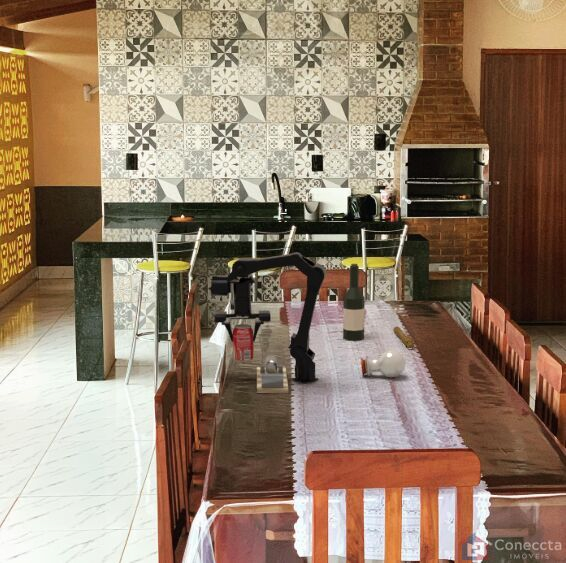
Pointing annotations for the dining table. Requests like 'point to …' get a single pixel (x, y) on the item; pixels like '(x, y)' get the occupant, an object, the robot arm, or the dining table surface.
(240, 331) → the soda can
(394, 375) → the potion bottle
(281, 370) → the cradle
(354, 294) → the wine bottle
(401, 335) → the tap handle
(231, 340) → the robot arm
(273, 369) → the shaft
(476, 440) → the dining table surface
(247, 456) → the dining table surface
